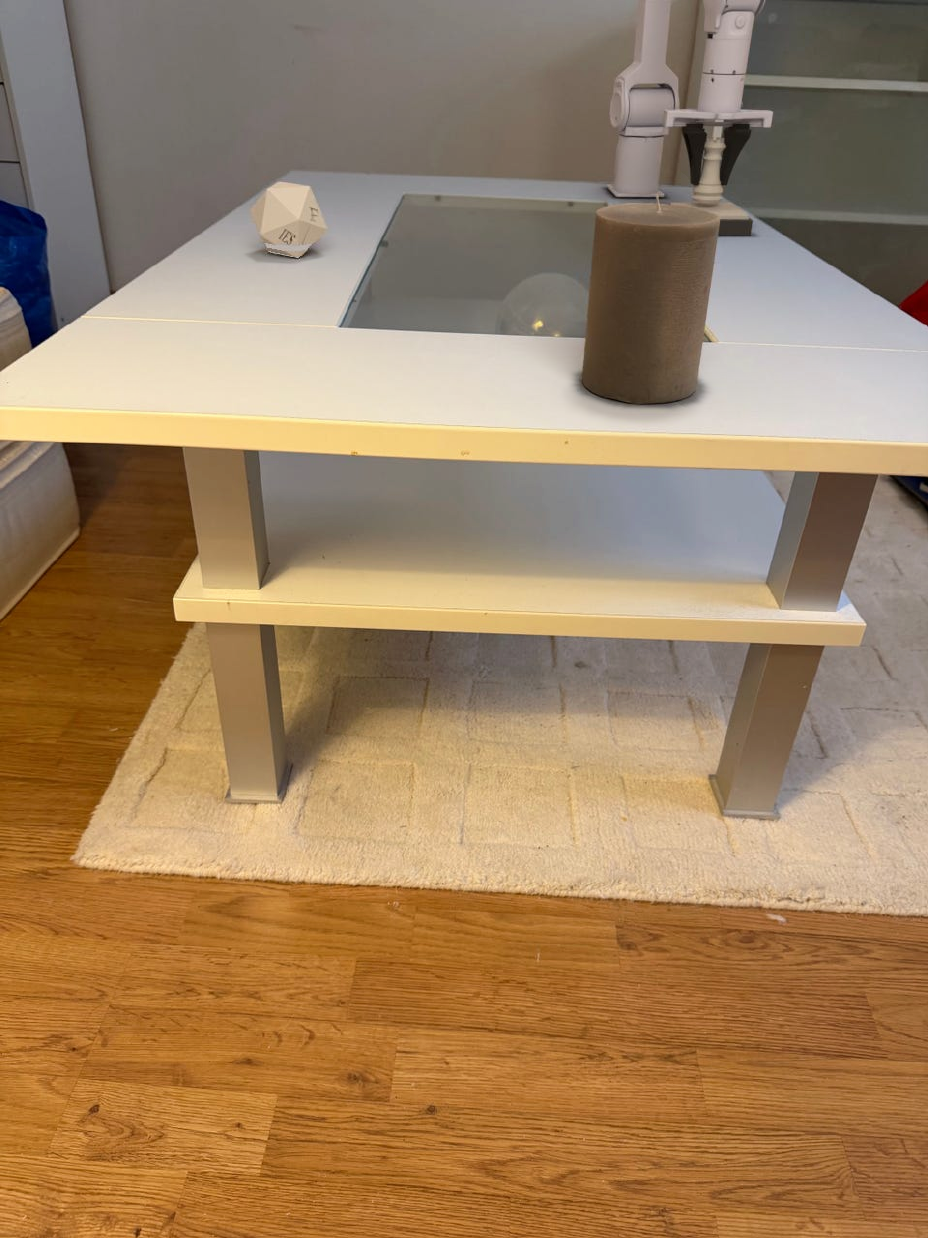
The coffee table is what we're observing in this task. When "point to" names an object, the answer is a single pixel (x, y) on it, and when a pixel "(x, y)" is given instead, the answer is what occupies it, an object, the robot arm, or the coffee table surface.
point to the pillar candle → (648, 300)
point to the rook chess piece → (710, 173)
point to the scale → (727, 218)
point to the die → (288, 217)
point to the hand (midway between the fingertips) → (708, 184)
